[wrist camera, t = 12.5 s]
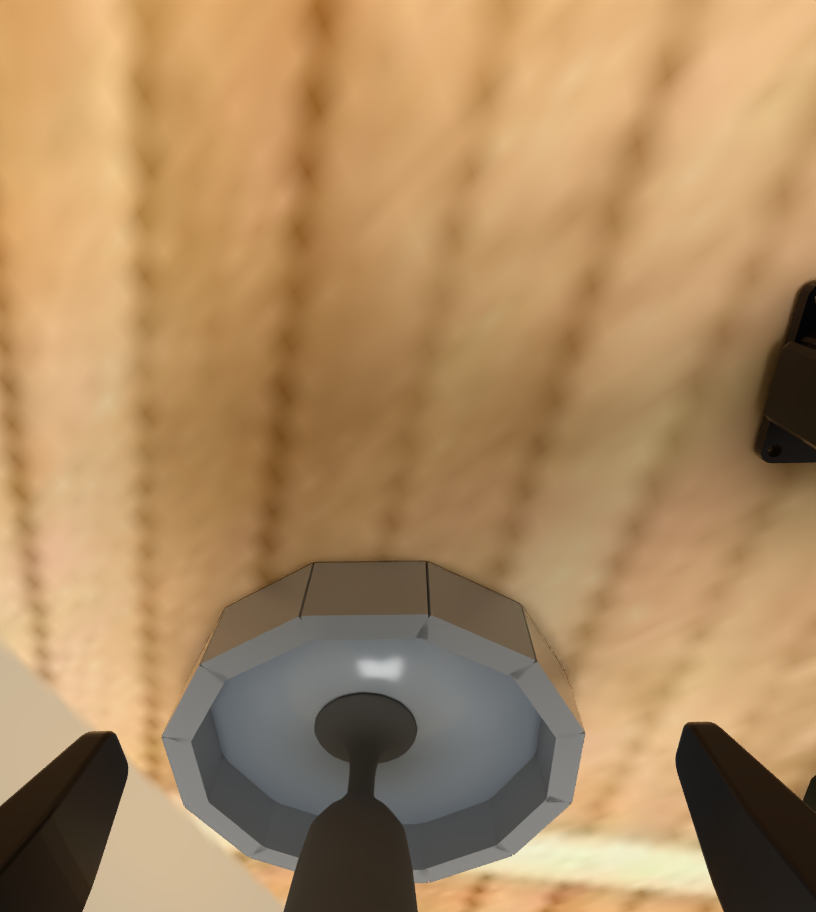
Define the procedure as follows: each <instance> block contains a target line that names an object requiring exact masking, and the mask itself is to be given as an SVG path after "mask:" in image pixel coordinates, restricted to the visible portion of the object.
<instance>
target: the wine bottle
mask: <svg viewBox="0 0 816 912" xmlns="http://www.w3.org/2000/svg"><path fill="white" fill-rule="evenodd" d="M803 802H804V803H806V804H807V805H808V806H809V807H810V808H811V809H812V810H813V811H815V812H816V776H815V777H814V778H813V779H812V780H811V783H810V785H809V788H808V790H807V793H806V795H805V798H804V801H803Z"/></svg>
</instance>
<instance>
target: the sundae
mask: <svg viewBox="0 0 816 912" xmlns="http://www.w3.org/2000/svg"><path fill="white" fill-rule="evenodd" d="M314 732H315V735H316V737H317V740H318V741H319V743H320V745H321V746H322V747H323V748H324V749H325V750H326V751H327V752H328V753H329V754H331V755H332V756H333V757H335V758H338V759H340V760H342V761H345V762H349V767H350V773H349V782H348V791H347V794H346V795H345V796H344V797H343V798H342V799H340V800H338V801H336V802H334V803H332V804H330V805H329V806H328V807H327V808H326V809H325V810H324V811H323V812H322V813H321V814H319V815H318V816H317V817H316V819H315V820H314V821H313V822H312V823H311V825H310V828H309V831H308V833H307V836H306V839H305V842H304V845H303V847H302V850H301V853H300V856H299V859H298V861H297V865H296V869H295V872H294V876H293V880H292V883H291V887H290V890H289V894H288V898H287V901H286V905H285V909H284V912H418V910H417V902H416V893H415V884H414V876H413V867H412V862H411V857H410V853H409V848H408V843H407V838H406V833H405V830H404V827H403V825H402V824H401V822H400V821H399V820H398V819H397V817H396V816H395V815H394V814H393V813H392V811H391V810H390V809H389V808H388V807H387V806H386V805H385V804H384V803H382V802H381V801H379V800H377V799H376V798H375V797H374V786H375V775H376V768H377V765H378V763H384V762H389V761H391V760H394V759H396V758H398V757H400V756H402V755H403V754H405V753H406V752H407V751H408V750H409V749H410V747H411V746H412V745H413V743H414V742H415V739H416V735H417V724H416V721H415V719H414V717H413V714H412V713H411V712H410V711H409V710H408V709H407V708H406V707H404V706H403V705H402V704H401V703H399V702H398V701H396V700H394V699H391V698H389V697H386V696H383V695H379V694H372V693H357V694H350V695H346V696H342V697H340V698H338V699H336V700H334V701H332V702H330V703H329V704H327V705H326V706H324V708H323V709H322V710H321V711H320V712H319V714H318V715H317V717H316V719H315V724H314Z"/></svg>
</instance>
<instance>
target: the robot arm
mask: <svg viewBox="0 0 816 912" xmlns="http://www.w3.org/2000/svg"><path fill="white" fill-rule="evenodd" d="M815 297H816V281H812V282H811V283H809V284H807V285H806V286H805V287H804V288H803V290H802V291H801V293H800V295H799V299H798V302H797V305H796V309H795V312H794V316H793V319H792V323H791V326H790V329H789V333H788V336H787V340H786V343H785V346H784V348H783V349H782V352H781V355H780V359H779V362H778V365H777V369H776V372H775V376H774V379H773V383H772V386H771V389H770V393H769V396H768V400H767V403H766V407H765V410H764V418H763V422H762V425H761V428H760V432H759V435H758V439H757V442H756V446H755V453H756V455H757V456H759V457H760V458H761V459H763V460H764V461H765V462H768V463H809V462H816V303H815ZM773 445H776V446H775V448H774V450H772V451H771V452H768V450H769V449H770V447H772V446H773ZM676 769H677V773H678V776H679V779H680V783H681V786H682V789H683V792H684V795H685V798H686V802H687V805H688V808H689V811H690V814H691V818H692V821H693V824H694V827H695V830H696V834H697V837H698V840H699V843H700V846H701V850H702V853H703V856H704V859H705V862H706V865H707V868H708V871H709V874H710V877H711V880H712V883H713V886H714V889H715V891H716V894H717V896H718V899H719V901H720V904H721V906H722V909H723V911H724V912H816V812H815V811H813V810H812V809H811V808H810V807H809V806H808V805H807V804H806V803H804V802H803V801H802V800H801V799H800V798H799V797H798V796H797V795H796V794H794V793H793V792H792V791H791V790H790V789H789V788H788V787H787V786H785V785H784V784H783V783H782V782H781V781H780V780H779V779H778V778H776V777H775V776H774V775H773V774H772V773H771V772H770V771H769V770H767V769H766V768H765V767H764V766H763V765H762V764H761V763H760V762H758V761H757V760H756V759H755V758H754V757H753V756H752V755H751V754H750V753H748V752H747V751H746V750H745V749H744V748H743V747H742V746H741V745H739V744H738V743H737V742H736V741H735V740H734V739H733V738H732V737H730V736H729V735H728V734H727V733H726V732H725V731H724V730H723V729H721V728H720V727H719V726H718V725H716V724H714V723H712V722H688V723H687V724H685V725H684V728H683V731H682V734H681V738H680V742H679V745H678V749H677V752H676ZM127 776H128V763H127V760H126V757H125V755H124V752H123V750H122V748H121V745H120V743H119V740H118V738H117V736H116V734H115V733H113V732H112V731H92V732H88V733H85V734H84V735H82V736H81V737H79V739H77V740H76V741H75V742H74V743H73V744H71V745H70V746H69V747H68V748H67V749H66V750H64V751H63V752H62V753H61V754H60V755H59V756H58V757H56V758H55V759H54V760H53V761H52V762H51V763H49V764H48V765H47V766H46V767H45V768H44V769H43V770H41V771H40V772H39V773H38V774H37V775H36V776H34V777H33V778H32V779H31V780H30V781H29V782H28V783H26V784H25V785H24V786H23V787H22V788H21V789H20V790H18V791H17V792H16V793H15V794H14V795H13V796H11V797H10V798H9V799H8V800H7V801H6V802H4V803H3V804H2V805H1V806H0V912H82V911H83V909H84V906H85V904H86V901H87V899H88V896H89V894H90V891H91V889H92V886H93V883H94V880H95V877H96V874H97V871H98V868H99V865H100V862H101V859H102V856H103V852H104V849H105V846H106V843H107V840H108V837H109V833H110V830H111V827H112V824H113V821H114V818H115V815H116V812H117V809H118V805H119V802H120V799H121V796H122V793H123V790H124V787H125V783H126V780H127Z"/></svg>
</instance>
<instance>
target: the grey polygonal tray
mask: <svg viewBox="0 0 816 912" xmlns="http://www.w3.org/2000/svg"><path fill="white" fill-rule="evenodd" d="M357 693H372V694H379V695H383V696H386V697H389V698H391V699H394V700H396V701H398V702H399V703H401V704H402V705H403V706H404V707H406V708H407V709H408V710H409V711H410V712H411V713H412V714H413V717H414V719H415V721H416V724H417V735H416V739H415V742H414V743H413V745H412V746H411V747H410V749H409V750H408V751H407V752H406V753H405V754H403V755H402V756H400V757H398V758H396V759H394V760H391V761H389V762H384V763H378V765H377V768H376V775H375V786H374V797H375V798H376V799H377V800H379V801H381V802H382V803H384V804H385V805H386V806H387V807H388V808H389V809H390V810H391V811H392V813H393V814H394V815H395V816H396V817H397V819H398V820H399V821H400V822H401V824H402V825H403V827H404V830H405V833H406V838H407V843H408V848H409V853H410V857H411V862H412V867H413V876H414V883H428V881H429V882H430V883H431V882H434V881H437V880H440V879H443V878H446V877H449V876H452V875H455V874H458V873H461V872H464V871H467V870H470V869H474V868H477V867H480V866H483V865H486V864H489V863H492V862H495V861H498V860H501V859H504V858H507V857H510V856H512V854H513V855H515V854H516V853H517V852H518V851H519V850H520V849H521V848H522V847H524V846H525V845H526V844H527V843H528V842H529V841H530V840H531V839H532V838H534V837H535V836H536V835H537V834H538V833H539V832H540V831H541V830H543V829H544V828H545V827H546V826H547V825H548V824H549V823H550V822H551V821H553V820H554V819H555V818H556V817H557V816H558V815H559V814H560V813H562V812H563V811H564V810H565V809H566V808H567V807H568V806H569V805H570V804H571V802H572V801H573V795H574V790H575V785H576V780H577V774H578V769H579V764H580V758H581V753H582V748H583V743H584V737H585V731H584V728H583V725H582V722H581V719H580V716H579V713H578V710H577V706H576V703H575V700H574V697H573V694H572V691H571V688H570V685H569V682H568V679H567V676H566V673H565V671H564V669H563V668H562V666H561V664H560V663H559V661H558V660H557V658H556V657H555V655H554V654H553V652H552V651H551V649H550V648H549V646H548V645H547V643H546V641H545V640H544V638H543V637H542V635H541V634H540V632H539V631H538V629H537V628H536V626H535V625H534V623H533V622H532V620H531V618H530V617H529V615H528V614H527V612H526V611H525V609H524V608H523V606H521V605H520V604H519V603H517V602H515V601H513V600H511V599H508V598H506V597H504V596H502V595H500V594H497V593H495V592H493V591H491V590H489V589H487V588H484V587H482V586H480V585H478V584H476V583H473V582H471V581H469V580H467V579H465V578H462V577H460V576H458V575H456V574H454V573H451V572H449V571H447V570H445V569H443V568H441V567H438V566H436V565H434V564H432V563H430V562H428V563H427V564H426V562H425V561H412V562H335V563H315V564H314V565H313V564H310V565H308V566H306V567H304V568H302V569H300V570H298V571H296V572H294V573H292V574H290V575H288V576H287V577H285V578H283V579H281V580H279V581H277V582H275V583H273V584H271V585H269V586H267V587H265V588H263V589H261V590H259V591H257V592H255V593H253V594H251V595H249V596H247V597H245V598H243V599H241V600H240V601H238V602H236V603H234V604H232V605H230V606H228V607H226V608H225V609H224V610H223V612H222V614H221V616H220V618H219V620H218V622H217V624H216V626H215V628H214V630H213V631H212V633H211V635H210V637H209V639H208V641H207V643H206V645H205V647H204V649H203V651H202V653H201V654H200V656H199V658H198V660H197V662H196V664H195V666H194V668H193V670H192V672H191V674H190V675H189V678H188V680H187V682H186V684H185V686H184V689H183V691H182V693H181V695H180V697H179V700H178V702H177V704H176V706H175V708H174V710H173V713H172V715H171V717H170V719H169V721H168V724H167V726H166V728H165V730H164V732H163V734H162V741H163V744H164V747H165V750H166V753H167V756H168V759H169V762H170V765H171V768H172V771H173V774H174V778H175V781H176V784H177V787H178V790H179V793H180V796H181V799H182V802H183V805H184V806H185V808H186V809H188V810H189V811H190V812H191V813H193V814H194V815H195V816H197V817H198V818H199V819H200V820H202V821H203V822H204V823H205V824H207V825H208V826H209V827H211V828H212V829H213V830H214V831H216V832H217V833H218V834H219V835H221V836H222V837H223V838H225V839H226V840H227V841H228V842H230V843H231V844H232V845H233V846H235V847H236V848H237V849H238V850H240V851H241V852H242V853H244V854H245V855H246V856H247V857H249V856H250V858H252V859H255V860H258V861H262V862H265V863H269V864H272V865H275V866H279V867H282V868H285V869H289V870H292V871H295V869H296V865H297V861H298V859H299V856H300V853H301V850H302V847H303V845H304V842H305V839H306V836H307V833H308V831H309V828H310V825H311V823H312V822H313V821H314V820H315V819H316V817H317V816H318V815H319V814H321V813H322V812H323V811H324V810H325V809H326V808H327V807H328V806H329V805H330V804H332V803H334V802H336V801H338V800H340V799H342V798H343V797H344V796H345V795H346V794H347V791H348V782H349V773H350V767H349V762H345V761H342V760H340V759H338V758H335V757H333V756H332V755H331V754H329V753H328V752H327V751H326V750H325V749H324V748H323V747H322V746H321V745H320V743H319V741H318V740H317V737H316V735H315V732H314V724H315V719H316V717H317V715H318V714H319V712H320V711H321V710H322V709H323V708H324V706H326V705H327V704H329V703H330V702H332V701H334V700H336V699H338V698H340V697H342V696H346V695H350V694H357Z"/></svg>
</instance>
